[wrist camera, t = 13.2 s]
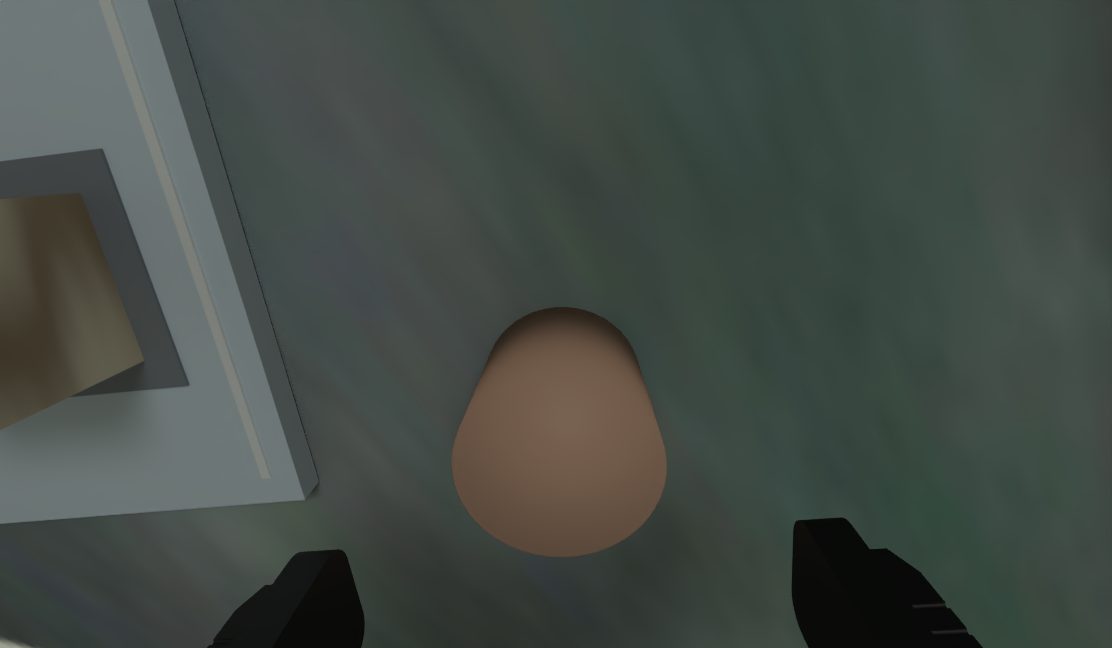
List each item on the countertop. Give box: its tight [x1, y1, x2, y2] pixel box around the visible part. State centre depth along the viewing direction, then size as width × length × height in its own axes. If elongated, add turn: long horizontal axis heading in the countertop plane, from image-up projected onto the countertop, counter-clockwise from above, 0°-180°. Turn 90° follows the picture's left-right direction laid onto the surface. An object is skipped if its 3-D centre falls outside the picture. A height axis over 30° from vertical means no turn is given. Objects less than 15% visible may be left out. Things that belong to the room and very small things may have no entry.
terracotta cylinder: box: [452, 307, 667, 557], centre depth 14 cm, size 5×5×5 cm
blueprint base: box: [0, 0, 319, 524], centre depth 16 cm, size 16×12×1 cm
